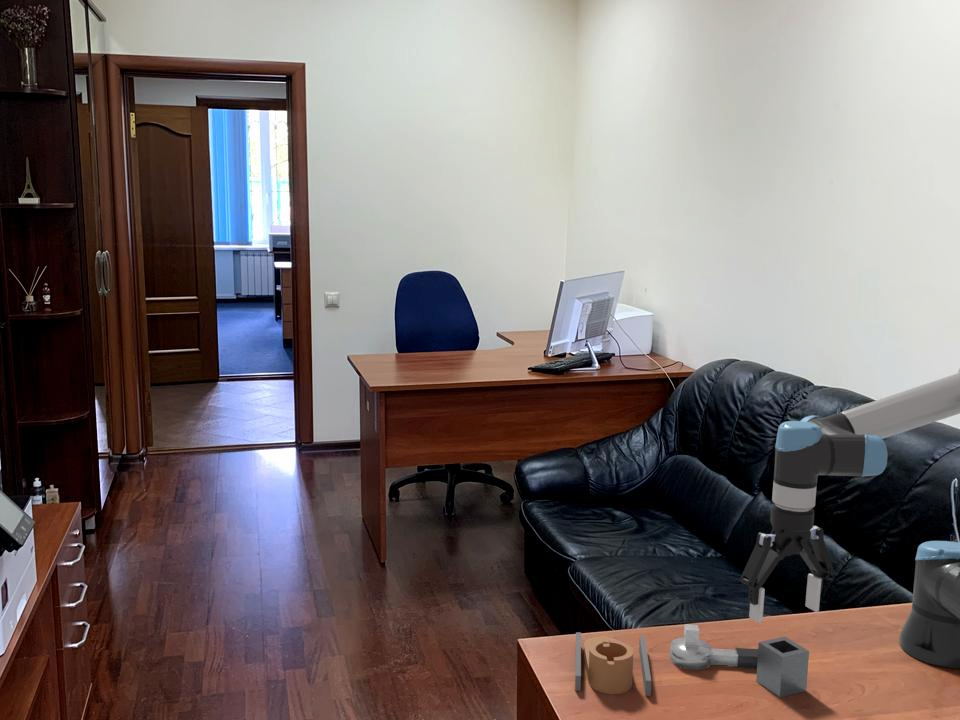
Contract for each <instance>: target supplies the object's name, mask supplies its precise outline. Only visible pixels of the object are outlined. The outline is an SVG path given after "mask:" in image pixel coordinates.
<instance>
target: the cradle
mask: <svg viewBox="0 0 960 720" xmlns="http://www.w3.org/2000/svg"><path fill="white" fill-rule="evenodd" d="M645 637H646V636H642V635H641V636H639V639H638V640H639V641H638V643H639V644H638V646H639V647H638V652H639V657H640V658H639V659H640V660H639V661H640V667H641V675H642V682H643V683H642V684H643V689H644V696H647V697H648V696H649V697H651V695H652V675H651V671H650V664H649V663H650V662H649V656H648V650H647V645H646V644H647V642H646V638H645ZM574 663H575V664H574V665H575V669H574V671H575V672H574V676H575V677H574V685H575V686H574V690H575V692H581V683H582V682H581V681H582V679H581V678H582V632H581V631H580V632H575V660H574Z"/></svg>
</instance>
